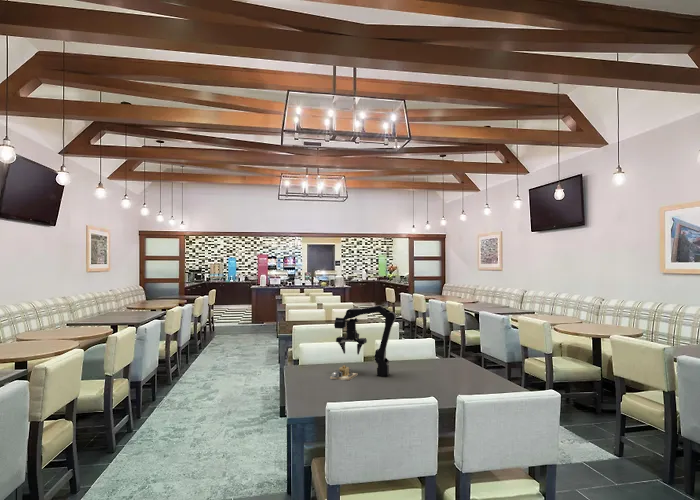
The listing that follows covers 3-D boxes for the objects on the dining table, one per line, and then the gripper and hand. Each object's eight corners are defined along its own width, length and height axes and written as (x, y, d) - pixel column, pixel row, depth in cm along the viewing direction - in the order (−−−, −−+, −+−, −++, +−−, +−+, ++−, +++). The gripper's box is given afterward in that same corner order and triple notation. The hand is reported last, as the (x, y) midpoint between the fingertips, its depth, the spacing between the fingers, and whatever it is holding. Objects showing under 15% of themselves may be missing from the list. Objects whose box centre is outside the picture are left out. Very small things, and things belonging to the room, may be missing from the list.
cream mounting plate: (358, 374, 265) (358, 367, 265) (348, 380, 250) (348, 373, 250) (341, 372, 269) (341, 366, 270) (330, 378, 255) (330, 371, 255)
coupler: (349, 374, 260) (349, 365, 260) (346, 376, 256) (346, 366, 256) (342, 373, 262) (342, 364, 262) (339, 375, 258) (339, 366, 258)
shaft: (336, 375, 258) (336, 370, 258) (342, 376, 255) (342, 371, 255) (329, 376, 254) (329, 371, 255) (335, 378, 251) (335, 373, 251)
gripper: (369, 328, 272) (369, 352, 271) (342, 326, 279) (342, 350, 278) (363, 330, 261) (363, 356, 261) (335, 328, 269) (335, 353, 268)
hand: (351, 354), depth 267 cm, fingers open, 9 cm apart
